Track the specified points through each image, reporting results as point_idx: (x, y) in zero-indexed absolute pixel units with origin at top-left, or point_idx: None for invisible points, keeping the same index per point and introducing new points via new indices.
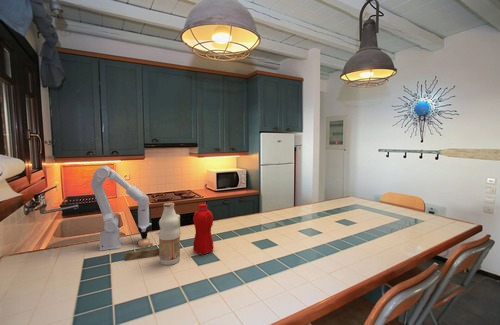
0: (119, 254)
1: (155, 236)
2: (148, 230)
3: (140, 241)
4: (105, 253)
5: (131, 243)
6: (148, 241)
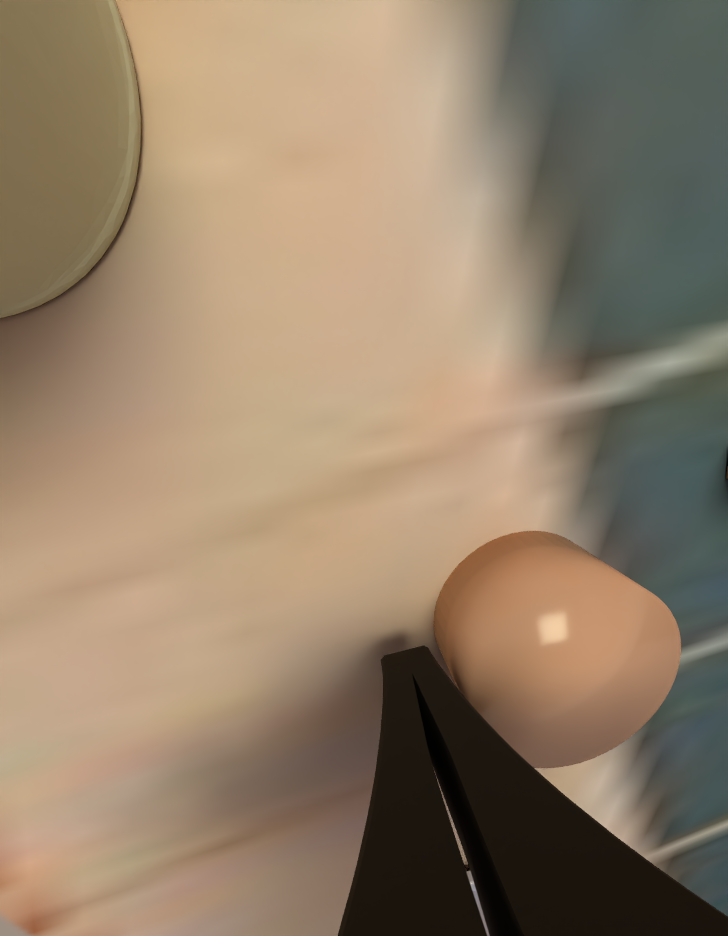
0: (699, 780)
1: (88, 530)
2: (715, 908)
3: (614, 721)
4: None
5: None
6: (639, 585)
